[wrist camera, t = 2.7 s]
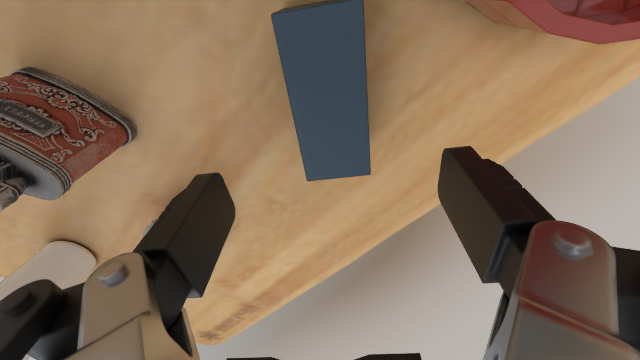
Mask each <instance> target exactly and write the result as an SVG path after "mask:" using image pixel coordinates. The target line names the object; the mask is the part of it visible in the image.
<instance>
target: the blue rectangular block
mask: <svg viewBox="0 0 640 360" xmlns="http://www.w3.org/2000/svg"><path fill="white" fill-rule="evenodd" d="M271 18H272V22H273V27H274V31H275V36H276V41H277V45H278V50H279V54H280V59H281V63H282V68H283V73H284V77H285V82H286V86H287V91H288V96H289V100H290V105H291V109H292V114H293V119H294V123H295V128H296V132H297V137H298V141H299V146H300V151H301V155H302V160H303V164H304V169H305V174H306V178H307V181H315V180H324V179H334V178H344V177H353V176H363V175H370V174H371V168H370V145H369V122H368V98H367V75H366V52H365V29H364V5H363V0H329V1H323V2H317V3H312V4H306V5H301V6H295V7H289V8H284V9H282V10H280V11H277V12H275V13H273V14H271Z"/></svg>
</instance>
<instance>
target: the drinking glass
mask: <svg viewBox="0 0 640 360" xmlns="http://www.w3.org/2000/svg"><path fill="white" fill-rule="evenodd" d="M95 266H96V259H95V257H94V255H93V254H92V253H91V252H90V251H89V250H87V249H86V248H84V247H82V246H80V245H78V244H75V243H72V242H68V241H54V242H51V243H48V244H47V245H45V246H44V247H43V248H42V249H41V250H39V251H38V252H37V253H36V254H35V255H34V256H33V257H32V258H30V259H29V260H28V261H27V262H25V263H24V264H23V265H22V266H20V267H19V268H18V269H17V270H15V271H14V272H13V273H11V274H10V275H9V276H8V277H6V278H5V279H4V280H3V281H1V282H0V301H1V300H2V299H3V298H5V297H6V296H7V295H9V294H10V293H12V292H13V291H15V290H17V289H18V288H20V287H22V286H24V285H26V284H28V283H31V282H33V281H37V280H41V279H49V280H51V281H52V282H54V283H55V284H56V285H57V286H59V287H60V288H61V289H62V290H63V289H66V288H69V287H72V286H75V285H78V284H81V283H83V282H84V280H85V279H86V278H87V277H88V275H89V274H90V273H91V272H92V271H93V269H94V268H95ZM29 357H30V356H29V355H26V356H25V357H24V358H23V360H28V358H29Z"/></svg>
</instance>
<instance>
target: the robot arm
mask: <svg viewBox="0 0 640 360" xmlns="http://www.w3.org/2000/svg"><path fill="white" fill-rule="evenodd" d="M438 195H439V199H440V202H441V204H442V206H443V208H444V210H445V212H446V214H447V216H448V218H449V219H450V221H451V223H452V225H453V227H454V229H455V231H456V233H457V234H458V237H459V239H460V241H461V242H462V244H463V246H464V248H465V250H466V252H467V254H468V256H469V258H470V259H471V262H472V263H473V265H474V267H475V269H476V271H477V273H478V275H479V277H480V279H481V281H482V283H500V285H501V287H502V289H503V290H504V291H503V294H502V296H501V299H500V302H499V306H498V309H497V313H496V317H495V320H494V324H493V327H492V330H491V334H490V337H489V341H488V344H487V348H486V351H485V354H484V358H483V360H640V251H637V250H630V249H624V248H617V247H611V246H610V245H609V244H608V243H607V242H606V241H605V240H604V239H603V238H601V237H600V236H599V235H597V234H596V233H594V232H592V231H590V230H588V229H586V228H584V227H581V226H579V225H576V224H573V223H569V222H564V221H556V220H555V219H554V217H553V216H552V215H550V213H548V211H547V210H546V209H545V208H544V207H543V206H542V205H541V204H540V203H539V202H538V201H537V200H536V199H535V198H534V197H533V196H532V195H531V194H530V193H529V192H528V191H527V190H526V189H525V188H522V185H521V184H520V183H519V182H518V181H517V180H516V179H514V178H513V176H512V175H511V174H510V173H509V172H508V171H507V170H506V169H505V168H504V167H503V166H501V165H499V164H497V163H495V162H493V161H491V160H489V159H482V158H481V157H480V156H479V155H478V154H477V152H476V151H475V150H474V149H473V148H472V147H471V146H464V147H454V148H446V149H444V151H443V154H442V160H441V167H440V174H439V181H438ZM234 219H235V206H234V203H233V201H232V198H231V196H230V194H229V191H228V189H227V187H226V185H225V182H224V180H223V178H222V176H221V175H220V174H219V173H208V174H199V175H196V176H195V177H194V178H193V180H192V181H191V183H190V184H189V185H188V187H187V188H186V189H184V190H183V191H182V192H181V193H179V194H178V195H177V196H176V197H174V198H173V199H172V200H171V202H170V203H169V204H168V206H167V207H166V208H165V211H163V212H162V214H161V215H160V216H159V220H156V222H155V223H154V224H153V226H152V227H151V228H150V230H149V231H148V232H147V234H146V235H145V236H144V237H143V239H142V240H141V241H140V243H139V244H138V245H137V247H136V248H135V249H134V251H133V252H130V253H124V254H121V255H118V256H116V257H114V258H112V259H110V260H108V261H107V262H105V263H103V264H102V265H101V266H99V267H98V268H97V269H96V270H95V271H94V272H93V273H92V274H91V275H90V276H89V278H88V279H87V281H86V282H84V283H81V284H78V285H75V286H72V287H69V288H66V289H63V290H62V289H61V288H60V287H59V286H57V285H56V284H55V283H54V282H52V281H51V280H49V279H41V280H37V281H33V282H31V283H28V284H26V285H24V286H22V287H20V288H18V289H17V290H15V291H13V292H12V293H10V294H9V295H7V296H6V297H5V298H3V299H2V300H1V301H0V360H23V358H24V357H25V356H26V355H29V356H31V357H33V358H34V359H36V360H200V358H199V354H198V350H197V347H196V343H195V340H194V336H193V333H192V329H191V326H190V322H189V318H188V315H187V312H186V309H185V308H184V307H183V305H184V303H185V301H186V298H199V297H202V296H203V293H204V291H205V289H206V286H207V284H208V282H209V279H210V277H211V274H212V272H213V270H214V267H215V265H216V262H217V260H218V258H219V255H220V253H221V250H222V248H223V246H224V243H225V241H226V238H227V236H228V234H229V231H230V229H231V227H232V224H233V222H234ZM227 360H279V359H276V358H272V357H265V358H264V357H262V358H227ZM355 360H421V356H420V353H412V354H411V353H409V354H375V355H374V354H372V355H367V356H364V357H361V358H358V359H355Z"/></svg>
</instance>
